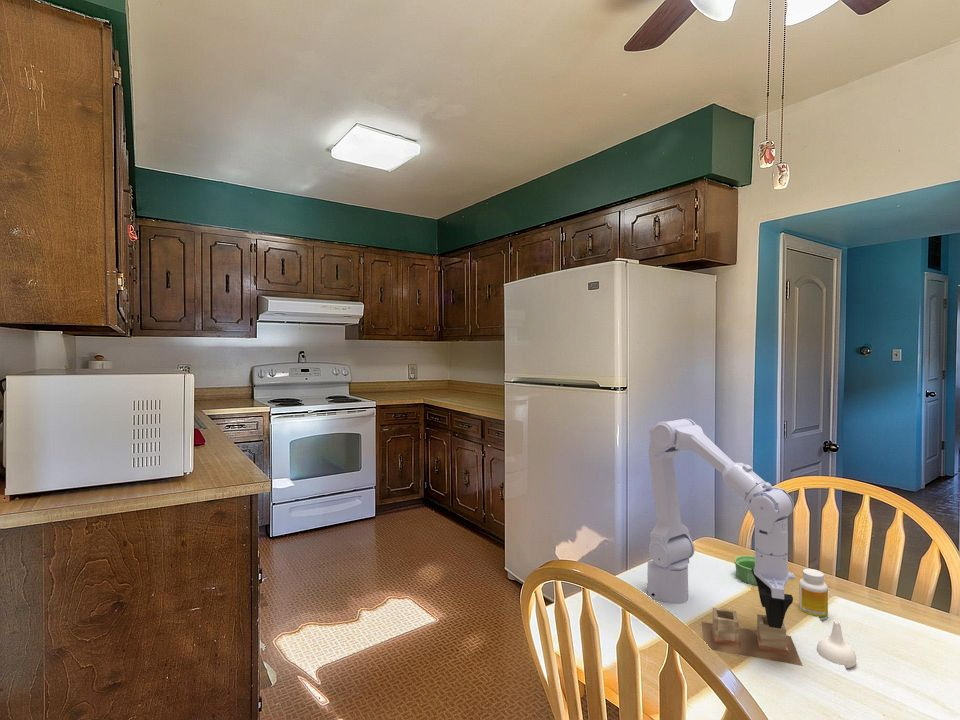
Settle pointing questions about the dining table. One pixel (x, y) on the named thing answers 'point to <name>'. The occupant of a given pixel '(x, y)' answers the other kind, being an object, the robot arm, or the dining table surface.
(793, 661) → the pin board
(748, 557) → the ramekin
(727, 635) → the seated sleeve
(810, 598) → the supplement bottle
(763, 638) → the banded sleeve
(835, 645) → the garlic bulb
